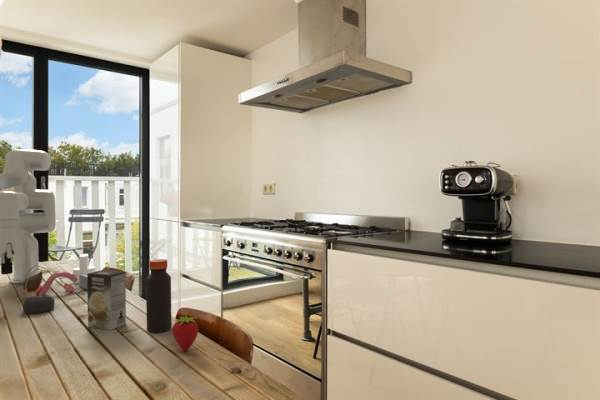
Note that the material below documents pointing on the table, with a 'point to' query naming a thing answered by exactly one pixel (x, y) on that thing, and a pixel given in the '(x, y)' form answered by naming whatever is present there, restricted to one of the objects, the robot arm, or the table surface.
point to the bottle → (158, 297)
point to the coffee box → (106, 299)
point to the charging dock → (83, 281)
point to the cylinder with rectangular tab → (83, 267)
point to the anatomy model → (34, 282)
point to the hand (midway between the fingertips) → (6, 273)
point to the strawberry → (185, 332)
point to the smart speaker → (38, 305)
